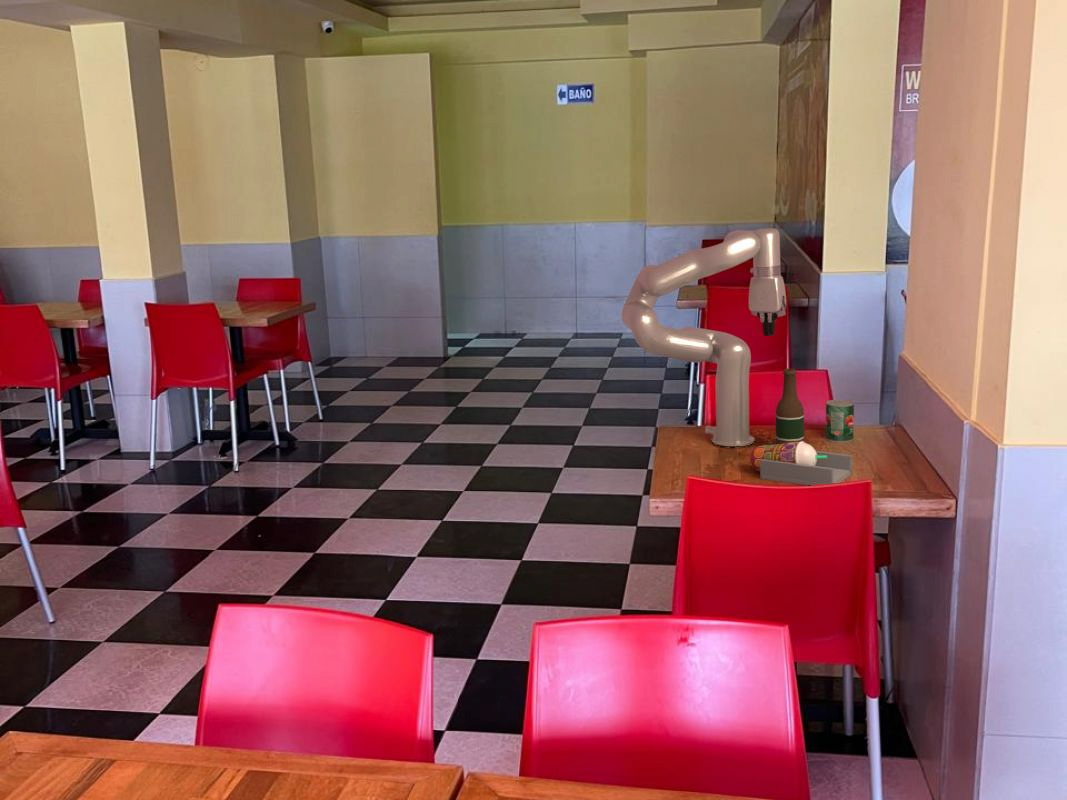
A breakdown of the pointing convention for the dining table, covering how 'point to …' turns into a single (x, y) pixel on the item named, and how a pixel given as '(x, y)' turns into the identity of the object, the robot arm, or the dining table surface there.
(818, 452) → the cradle
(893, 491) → the dining table surface
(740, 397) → the robot arm
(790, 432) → the beer bottle
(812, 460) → the smoothie
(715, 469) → the dining table surface
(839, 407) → the canned tomato
